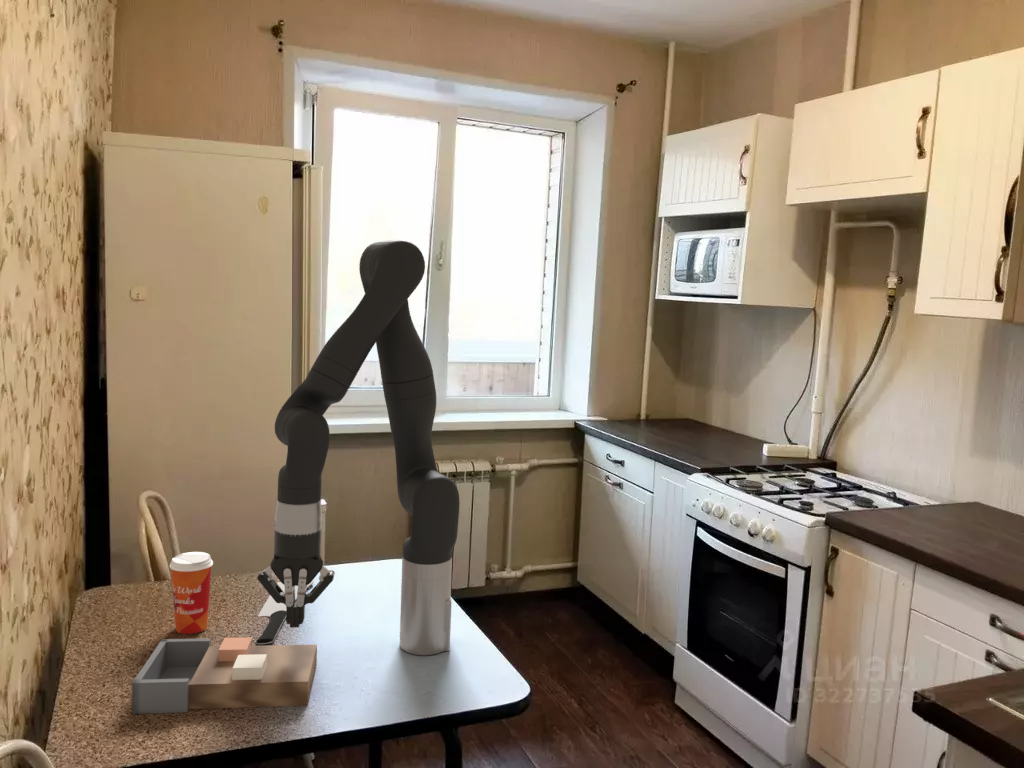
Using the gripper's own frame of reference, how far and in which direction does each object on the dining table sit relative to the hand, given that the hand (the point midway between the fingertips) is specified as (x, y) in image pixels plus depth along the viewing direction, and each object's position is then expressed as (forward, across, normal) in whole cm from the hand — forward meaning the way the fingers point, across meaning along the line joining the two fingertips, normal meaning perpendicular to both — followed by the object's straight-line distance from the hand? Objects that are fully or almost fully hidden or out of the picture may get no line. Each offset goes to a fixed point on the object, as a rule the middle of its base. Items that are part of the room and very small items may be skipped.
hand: (294, 625), depth 132 cm
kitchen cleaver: (+10, +8, -28) cm, 30 cm away
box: (+9, +18, +3) cm, 21 cm away
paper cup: (+10, +22, -20) cm, 31 cm away
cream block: (+5, +6, +6) cm, 10 cm away
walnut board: (+9, +6, +3) cm, 11 cm away
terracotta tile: (+5, +10, 0) cm, 11 cm away
